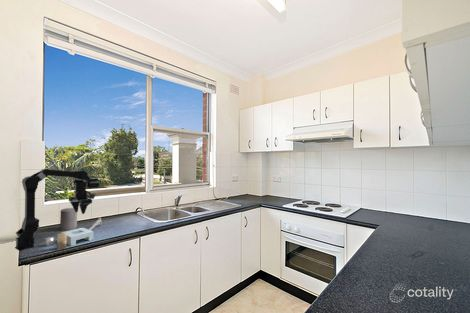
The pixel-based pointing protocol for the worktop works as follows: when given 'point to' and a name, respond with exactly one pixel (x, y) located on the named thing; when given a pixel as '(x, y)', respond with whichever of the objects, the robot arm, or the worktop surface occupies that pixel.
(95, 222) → the caliper
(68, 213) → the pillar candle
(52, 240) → the aluminium pin
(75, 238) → the bridge jig
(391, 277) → the worktop surface
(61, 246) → the maple pin
